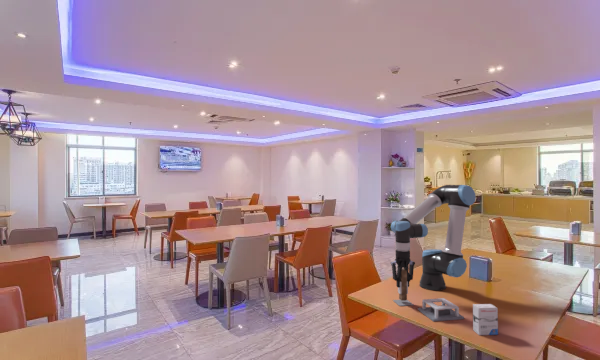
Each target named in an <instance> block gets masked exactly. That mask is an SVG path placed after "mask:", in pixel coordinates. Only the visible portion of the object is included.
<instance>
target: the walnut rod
mask: <svg viewBox="0 0 600 360" xmlns="http://www.w3.org/2000/svg"><path fill="white" fill-rule="evenodd" d="M400 281H401V289H402V294H399V293H398V295H399V296H398V300H401V301H405V300H408V294H407V271H406V270H404V268H402V271H401V278H400Z"/></svg>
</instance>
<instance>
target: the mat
mask: <svg viewBox="0 0 600 360" xmlns="http://www.w3.org/2000/svg"><path fill="white" fill-rule="evenodd" d="M392 301H393V302H394V303H395V304H396V305H397V306H399V307H407V306H408V307H409V306H414V303H412V302H411V301H409V299H407V300H405V301H401V300H400V299H393V300H392Z"/></svg>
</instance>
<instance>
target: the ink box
mask: <svg viewBox="0 0 600 360" xmlns="http://www.w3.org/2000/svg"><path fill="white" fill-rule="evenodd" d="M498 313H499V311H498V307H496V306H495V305H494V304H492V303H476V304H475V303H472V329H473V330H472V331H473V332H475V333H476V334H477V335H478V336H495V335H499V317H498V315H499V314H498Z"/></svg>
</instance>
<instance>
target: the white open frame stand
mask: <svg viewBox="0 0 600 360" xmlns="http://www.w3.org/2000/svg"><path fill="white" fill-rule="evenodd" d="M421 302H422V307H417V311H419V312H420V313H421V314H423V315H424V316H425V317H427V318H428V319H429V320H431V321H432V322H442V321H443V322H444V321H455V320H456V321H458V320H464V319H465V316H464V315H461V314H460V308H459V306H458V305H456V304H455V303H453V302H451V301H450V300H447V299H446V298H444V297H442V298H441V297H439V298H438V297H437V298H428V299H427V298H424V299H422V301H421ZM435 303H441V305H437V304H435ZM427 305H428V307H427ZM442 309H444V310H442Z"/></svg>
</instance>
